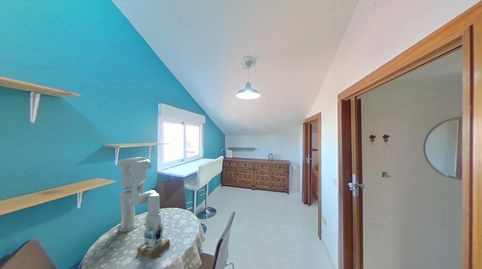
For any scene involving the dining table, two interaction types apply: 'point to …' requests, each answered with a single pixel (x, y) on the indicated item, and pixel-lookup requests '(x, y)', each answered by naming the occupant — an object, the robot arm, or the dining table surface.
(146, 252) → the plinth
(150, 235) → the light bulb box
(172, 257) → the dining table surface
